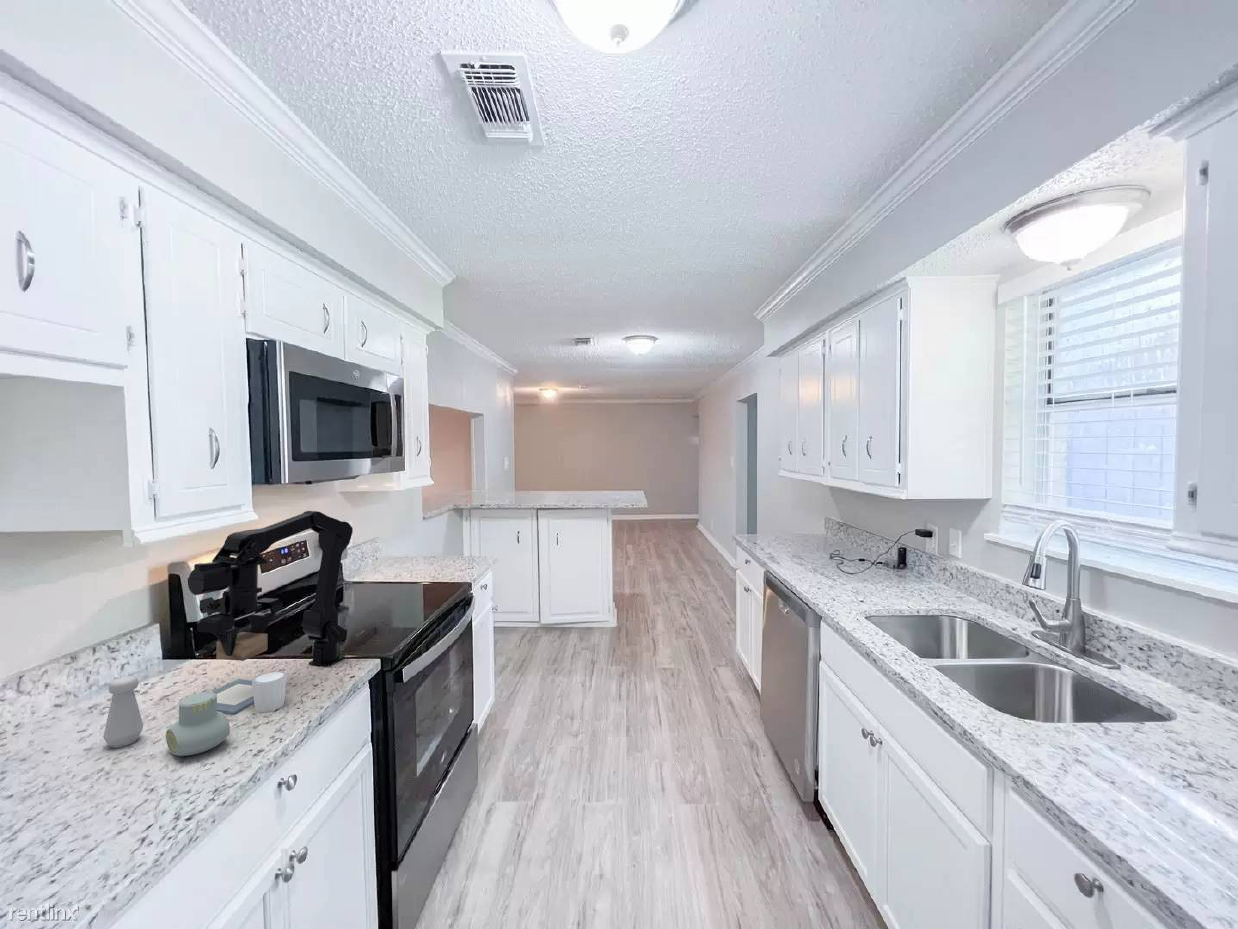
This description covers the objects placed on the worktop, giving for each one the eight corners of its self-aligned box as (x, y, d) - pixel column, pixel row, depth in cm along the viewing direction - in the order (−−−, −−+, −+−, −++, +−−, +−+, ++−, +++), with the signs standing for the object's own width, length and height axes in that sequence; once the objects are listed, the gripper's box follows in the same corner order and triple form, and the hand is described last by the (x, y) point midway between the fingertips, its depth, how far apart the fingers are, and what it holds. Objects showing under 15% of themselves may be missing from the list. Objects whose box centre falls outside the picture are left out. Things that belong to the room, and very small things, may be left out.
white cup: (248, 716, 116) (248, 685, 115) (255, 702, 122) (255, 673, 122) (284, 710, 118) (284, 680, 118) (289, 697, 125) (289, 668, 124)
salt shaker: (98, 745, 103) (98, 680, 103) (135, 731, 108) (135, 670, 108) (111, 753, 101) (110, 687, 100) (148, 739, 106) (148, 676, 105)
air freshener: (162, 747, 103) (162, 698, 103) (213, 730, 110) (213, 683, 110) (181, 767, 97) (181, 714, 97) (233, 747, 104) (233, 698, 103)
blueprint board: (239, 681, 133) (239, 678, 133) (285, 687, 130) (285, 684, 130) (183, 707, 119) (183, 704, 119) (233, 714, 116) (233, 711, 116)
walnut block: (267, 650, 127) (267, 633, 127) (243, 660, 120) (243, 643, 120) (241, 648, 128) (241, 632, 128) (216, 658, 121) (216, 641, 121)
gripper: (245, 575, 134) (244, 635, 135) (175, 593, 116) (174, 662, 116) (284, 577, 133) (283, 637, 133) (220, 596, 115) (219, 666, 115)
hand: (242, 650), depth 124 cm, fingers closed on walnut block, 7 cm apart
